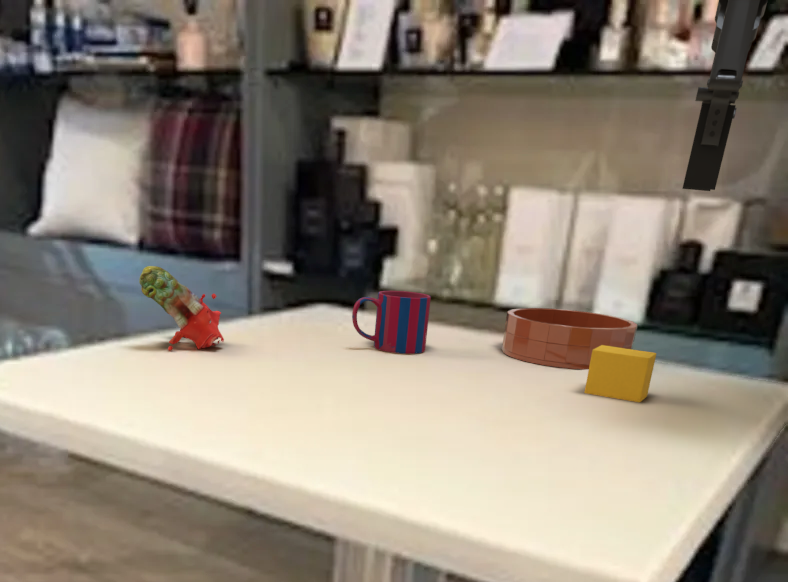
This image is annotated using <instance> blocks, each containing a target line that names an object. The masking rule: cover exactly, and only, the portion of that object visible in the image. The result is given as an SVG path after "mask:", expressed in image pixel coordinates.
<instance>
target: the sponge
mask: <svg viewBox="0 0 788 582" xmlns="http://www.w3.org/2000/svg"><path fill="white" fill-rule="evenodd" d="M656 357H657V353H656V352H652V351H645V350H639V349H625V348H619V347H612V346H605V345H601V346H599V347H597V348H595V349H593V350H592V355H591V361H590V366H589V369H588V371H587V376H586V381H585V388H584V394H586V395H587V394H588V395H593V396H601V397H606V398H612V399H618V400H624V401H630V402H635V403H641V402H642V401H644V400H645V399H646V398H647V397H648V395H649V391H650V390H649V389H650V385H651V380H652V377H653V372H654V368H655V363H656V359H657V358H656Z"/></svg>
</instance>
